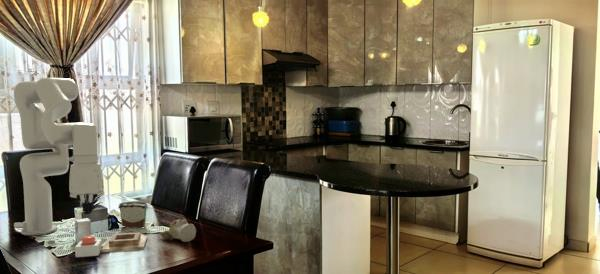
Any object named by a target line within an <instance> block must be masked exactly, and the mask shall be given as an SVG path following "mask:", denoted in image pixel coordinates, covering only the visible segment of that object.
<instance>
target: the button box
mask: <svg viewBox="0 0 600 274" xmlns="http://www.w3.org/2000/svg"><path fill="white" fill-rule="evenodd" d="M102 247H103V246H102V239H95V243H94V244H91V245H83V244H82V241H80V242H79V243H77V244H76V245H75V247H74V249H75V250H74V251H75V252H74V253H75V258H81V257H82V258H85V257H96V256H99V255H100V254H101V249H102Z"/></svg>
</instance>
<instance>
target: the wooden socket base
mask: <svg viewBox="0 0 600 274" xmlns="http://www.w3.org/2000/svg"><path fill="white" fill-rule="evenodd" d="M147 240H148V235H141V232H128V233H127V232H124V233H113V234H112V236H111V237H108V238H107V239H106V241H105V242H104V243H103V246H102V249H101V251H100V253H109V252H122V251H124V252H125V251H138V250H145V247H146V243H147Z"/></svg>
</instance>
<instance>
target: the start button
mask: <svg viewBox="0 0 600 274" xmlns="http://www.w3.org/2000/svg"><path fill="white" fill-rule="evenodd" d="M95 240H96V236H94V235H91V236H85V237H83V238H82V244H83V245H91V244H94V243H95Z"/></svg>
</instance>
